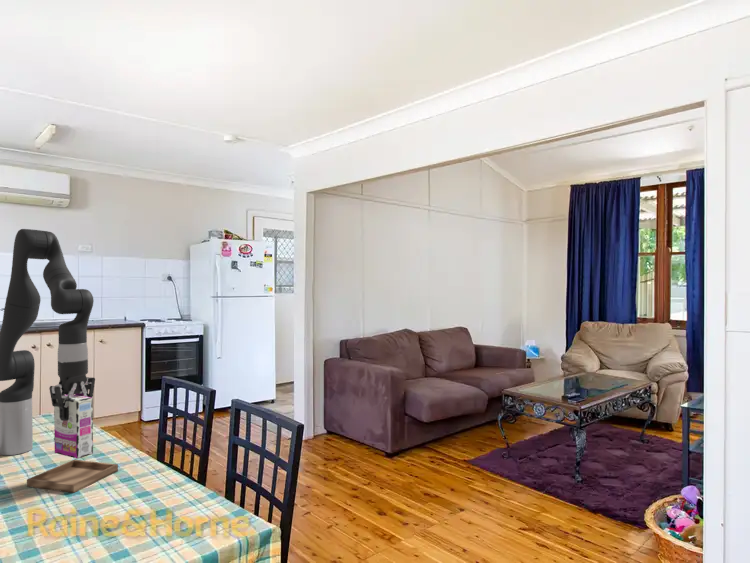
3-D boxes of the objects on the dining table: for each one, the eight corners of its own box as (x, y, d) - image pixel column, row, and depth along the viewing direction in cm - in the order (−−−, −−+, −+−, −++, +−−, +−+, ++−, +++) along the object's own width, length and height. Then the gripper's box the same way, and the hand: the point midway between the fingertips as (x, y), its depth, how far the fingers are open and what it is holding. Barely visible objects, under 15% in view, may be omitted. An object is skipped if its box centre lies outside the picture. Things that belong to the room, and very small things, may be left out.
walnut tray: (26, 486, 144) (26, 479, 144) (74, 466, 159) (74, 459, 159) (73, 492, 139) (73, 485, 139) (117, 471, 155) (117, 464, 155)
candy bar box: (94, 454, 149) (93, 397, 149) (77, 459, 144) (76, 400, 144) (70, 447, 154) (69, 392, 154) (53, 453, 150) (52, 396, 149)
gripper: (82, 354, 157) (83, 410, 157) (40, 362, 143) (41, 423, 143) (103, 355, 155) (103, 411, 155) (62, 363, 141) (63, 425, 141)
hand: (73, 417), depth 149 cm, fingers closed on candy bar box, 5 cm apart
